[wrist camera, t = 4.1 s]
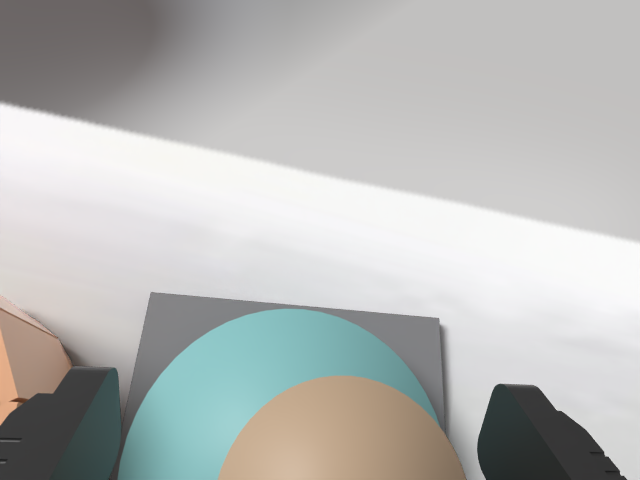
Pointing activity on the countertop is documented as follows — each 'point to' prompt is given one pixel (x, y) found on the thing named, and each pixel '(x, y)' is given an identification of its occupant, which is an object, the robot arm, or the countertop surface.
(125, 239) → the countertop surface
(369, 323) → the mat
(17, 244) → the countertop surface
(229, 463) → the lid
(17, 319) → the bowl
